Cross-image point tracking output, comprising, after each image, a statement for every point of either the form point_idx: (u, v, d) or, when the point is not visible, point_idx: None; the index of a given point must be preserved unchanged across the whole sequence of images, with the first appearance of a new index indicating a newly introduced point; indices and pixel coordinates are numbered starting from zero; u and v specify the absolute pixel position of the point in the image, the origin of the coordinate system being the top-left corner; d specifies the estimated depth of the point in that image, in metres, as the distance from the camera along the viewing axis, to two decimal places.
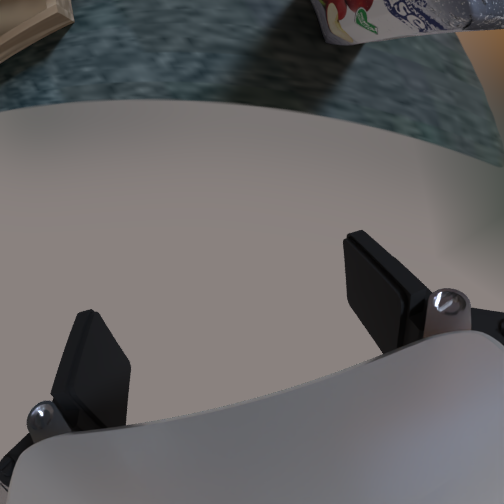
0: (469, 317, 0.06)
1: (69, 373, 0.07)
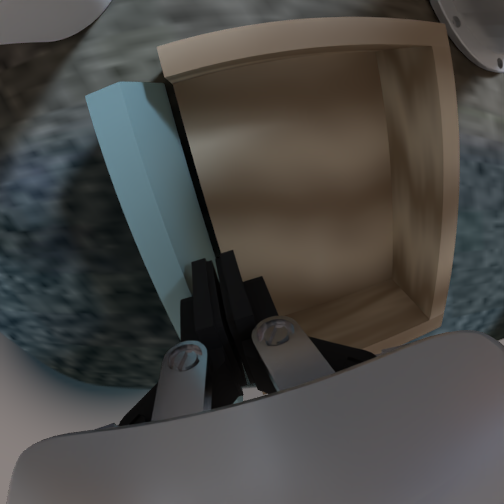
0: (304, 334, 0.07)
1: (211, 309, 0.09)
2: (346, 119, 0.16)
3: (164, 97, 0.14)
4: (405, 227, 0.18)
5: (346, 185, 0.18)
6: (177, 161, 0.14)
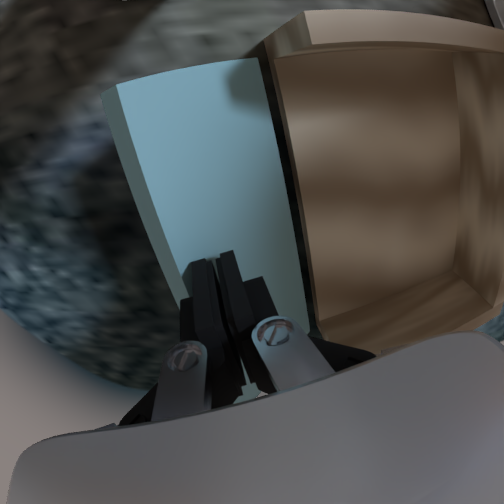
0: (304, 334, 0.07)
1: (211, 309, 0.09)
2: (428, 114, 0.15)
3: (248, 75, 0.12)
4: (473, 219, 0.17)
5: (425, 177, 0.17)
6: (248, 149, 0.13)
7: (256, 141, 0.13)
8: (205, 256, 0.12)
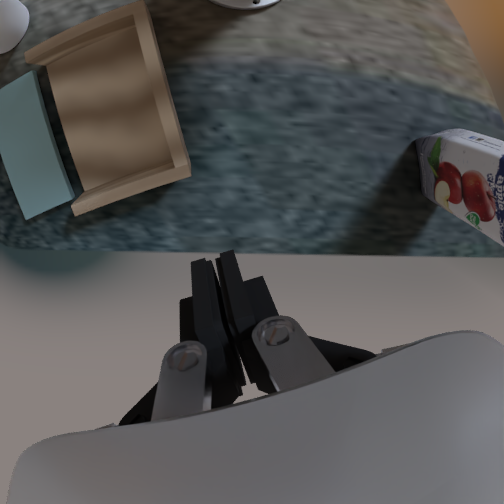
0: (304, 334, 0.07)
1: (210, 309, 0.09)
2: (124, 64, 0.27)
3: (26, 79, 0.24)
4: None
5: (128, 99, 0.29)
6: (24, 108, 0.25)
7: (28, 104, 0.25)
8: (7, 145, 0.26)
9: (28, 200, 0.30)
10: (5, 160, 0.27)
